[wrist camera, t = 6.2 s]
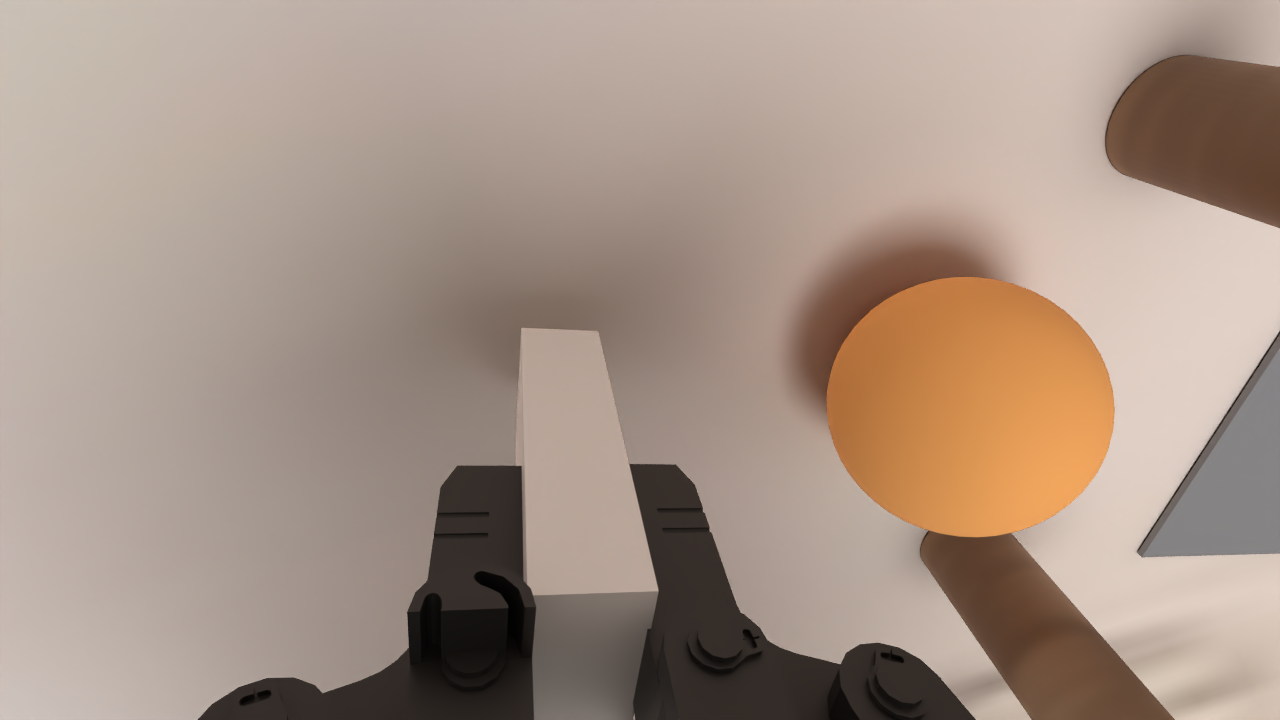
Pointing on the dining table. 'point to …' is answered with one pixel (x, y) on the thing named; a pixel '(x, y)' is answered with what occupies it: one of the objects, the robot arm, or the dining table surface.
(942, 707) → the robot arm
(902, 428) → the ball
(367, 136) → the dining table surface
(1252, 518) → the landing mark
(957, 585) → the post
